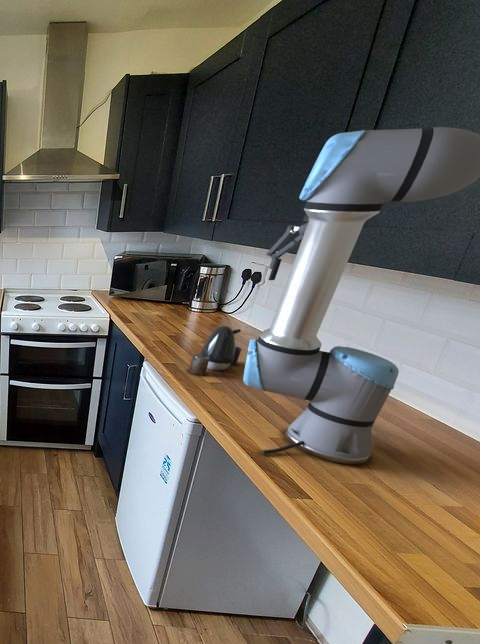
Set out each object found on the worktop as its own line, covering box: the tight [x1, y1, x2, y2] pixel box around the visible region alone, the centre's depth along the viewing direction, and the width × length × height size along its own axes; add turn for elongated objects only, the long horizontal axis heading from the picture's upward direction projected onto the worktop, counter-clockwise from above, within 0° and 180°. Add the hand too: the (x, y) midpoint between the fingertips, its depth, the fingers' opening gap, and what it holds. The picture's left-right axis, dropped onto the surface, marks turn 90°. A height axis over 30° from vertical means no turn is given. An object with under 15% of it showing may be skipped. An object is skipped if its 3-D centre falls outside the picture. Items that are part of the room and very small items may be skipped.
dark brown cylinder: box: [188, 353, 210, 377], centre depth 135 cm, size 5×5×6 cm
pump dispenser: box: [199, 325, 242, 372], centre depth 138 cm, size 10×10×15 cm
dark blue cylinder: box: [229, 345, 242, 367], centre depth 145 cm, size 5×5×6 cm
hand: (296, 283), depth 123 cm, fingers open, 13 cm apart
